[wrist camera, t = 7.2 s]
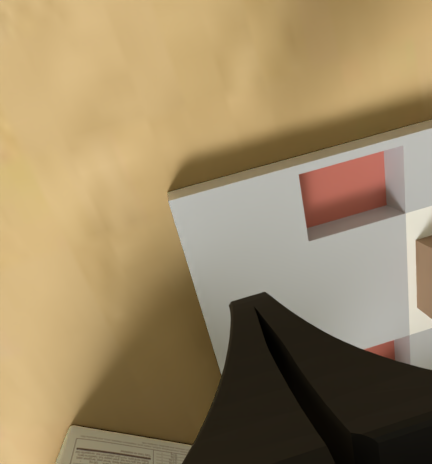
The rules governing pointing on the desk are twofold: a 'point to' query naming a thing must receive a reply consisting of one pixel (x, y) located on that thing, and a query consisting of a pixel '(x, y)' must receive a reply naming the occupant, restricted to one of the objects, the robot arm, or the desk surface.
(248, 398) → the robot arm
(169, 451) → the supplement box
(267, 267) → the trap deck
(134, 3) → the desk surface
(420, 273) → the walnut block
